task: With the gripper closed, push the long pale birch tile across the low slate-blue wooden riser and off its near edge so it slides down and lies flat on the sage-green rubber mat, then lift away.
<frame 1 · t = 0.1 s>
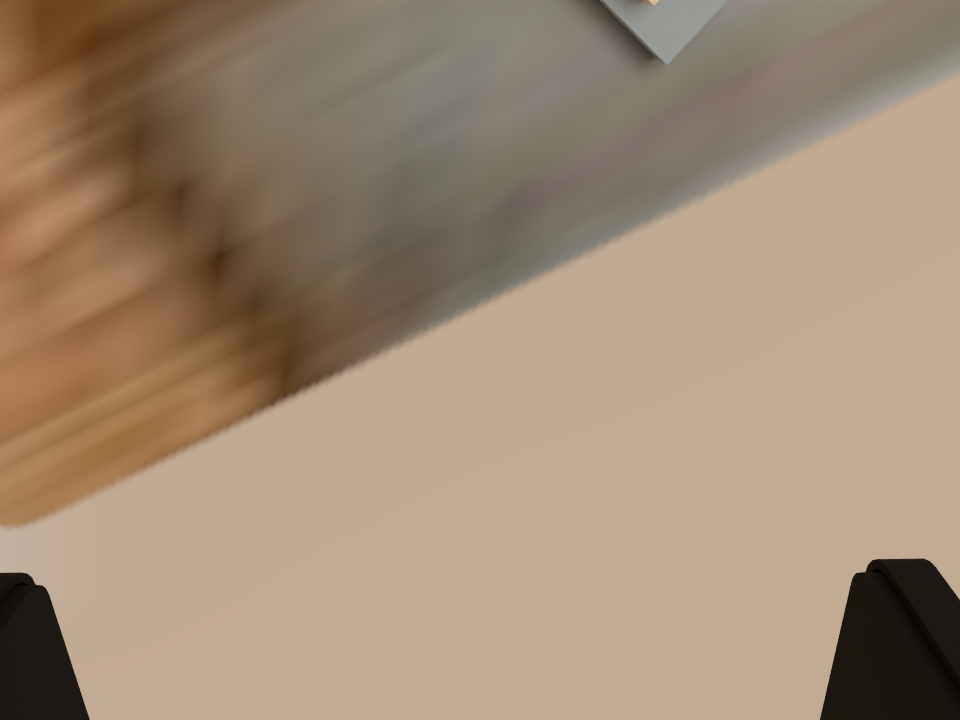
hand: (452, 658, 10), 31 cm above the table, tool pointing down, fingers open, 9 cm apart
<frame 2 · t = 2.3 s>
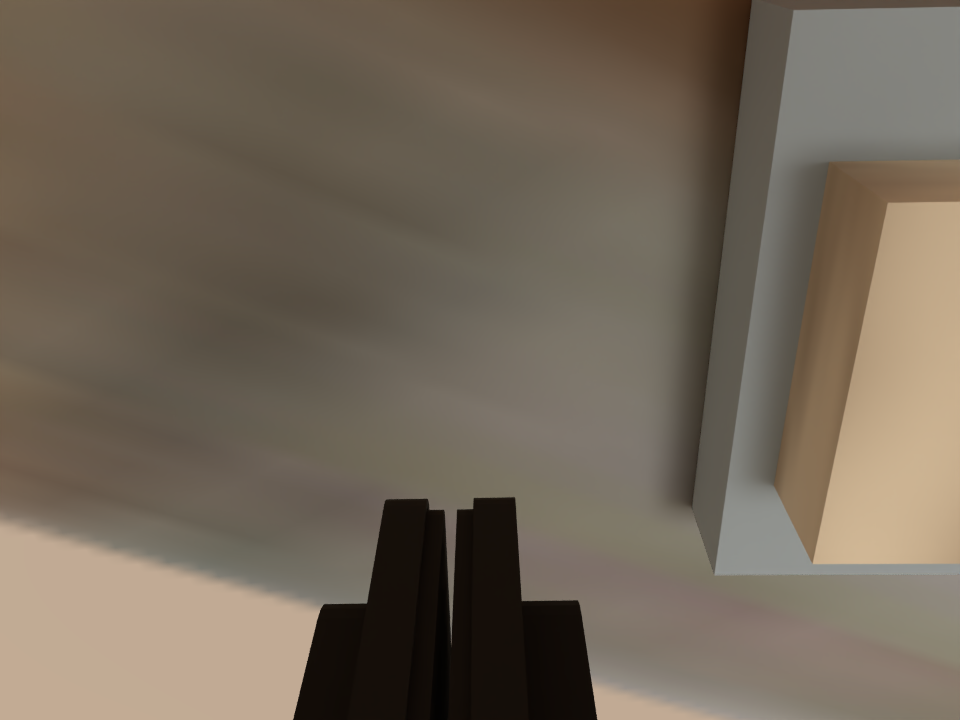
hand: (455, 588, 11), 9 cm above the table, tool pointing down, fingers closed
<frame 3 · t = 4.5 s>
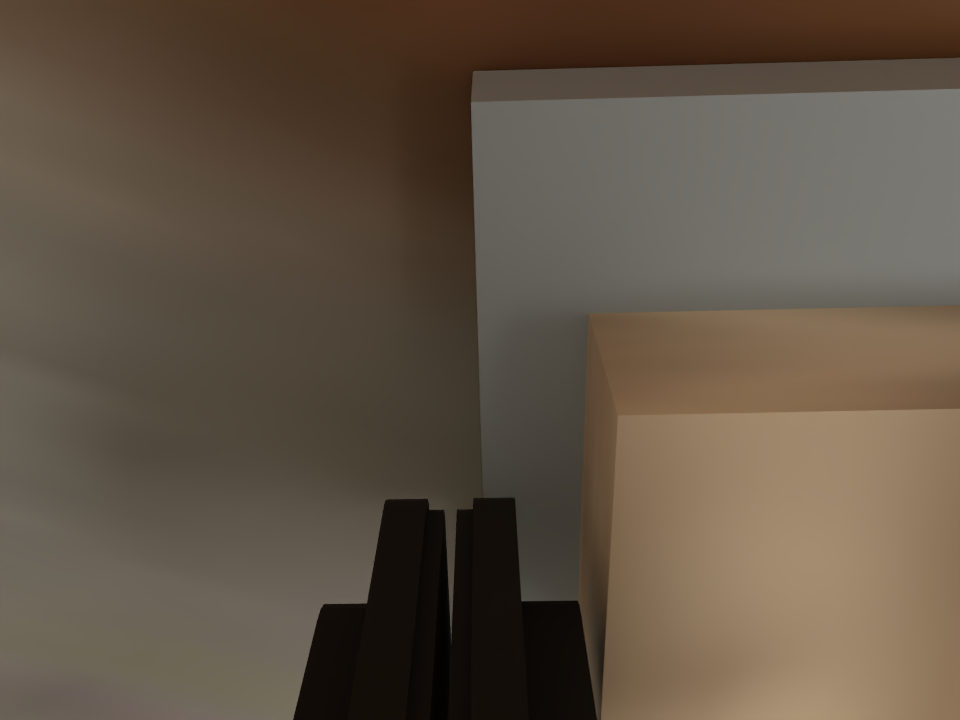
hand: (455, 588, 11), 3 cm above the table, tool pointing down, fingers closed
riser: (902, 436, 14), on the table
birch tile: (936, 534, 12), point 3 cm above the table, touching gripper, riser
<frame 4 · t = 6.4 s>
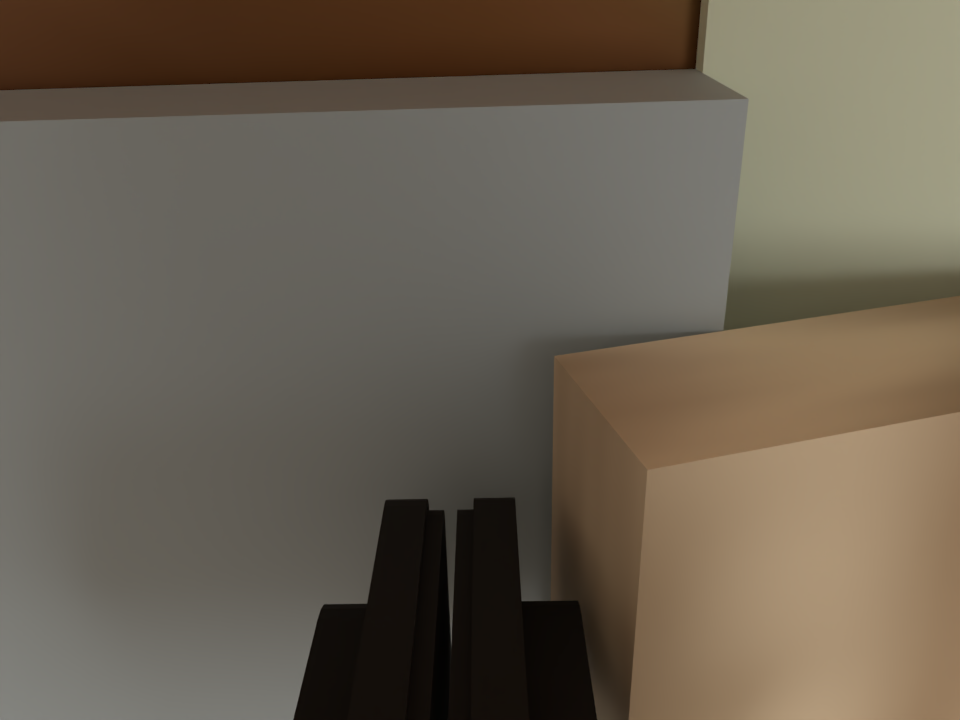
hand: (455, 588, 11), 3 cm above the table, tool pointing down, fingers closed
riser: (249, 454, 14), on the table
birch tile: (866, 518, 12), point 2 cm above the table, tilted 15°, touching riser
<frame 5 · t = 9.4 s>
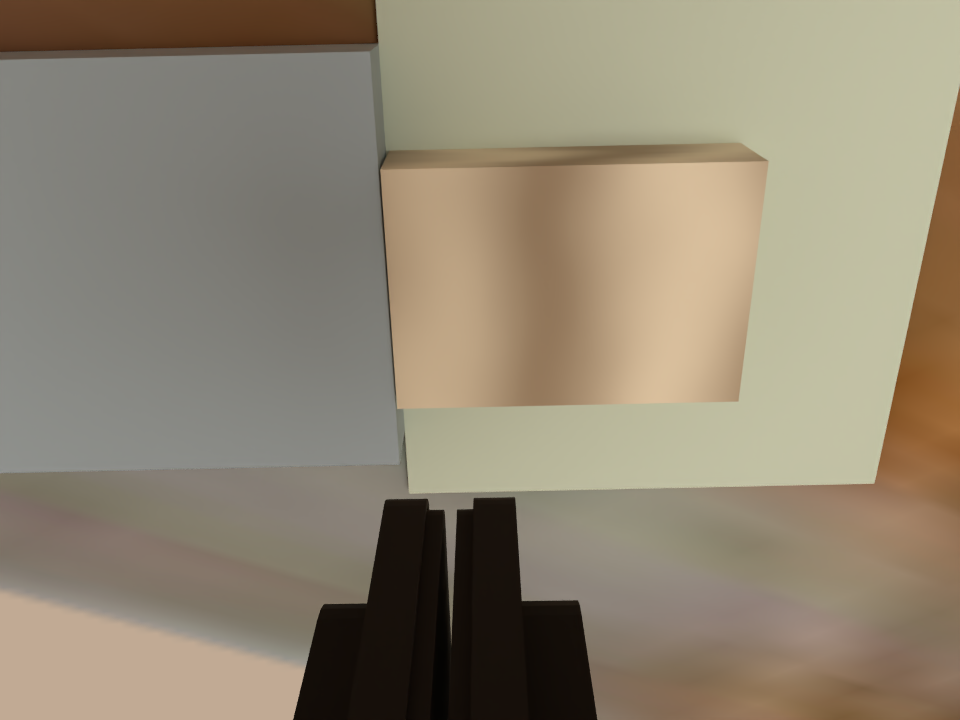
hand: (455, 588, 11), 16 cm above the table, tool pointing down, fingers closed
riser: (164, 258, 25), on the table
birch tile: (562, 263, 25), resting on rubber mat
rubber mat: (656, 247, 25), on the table
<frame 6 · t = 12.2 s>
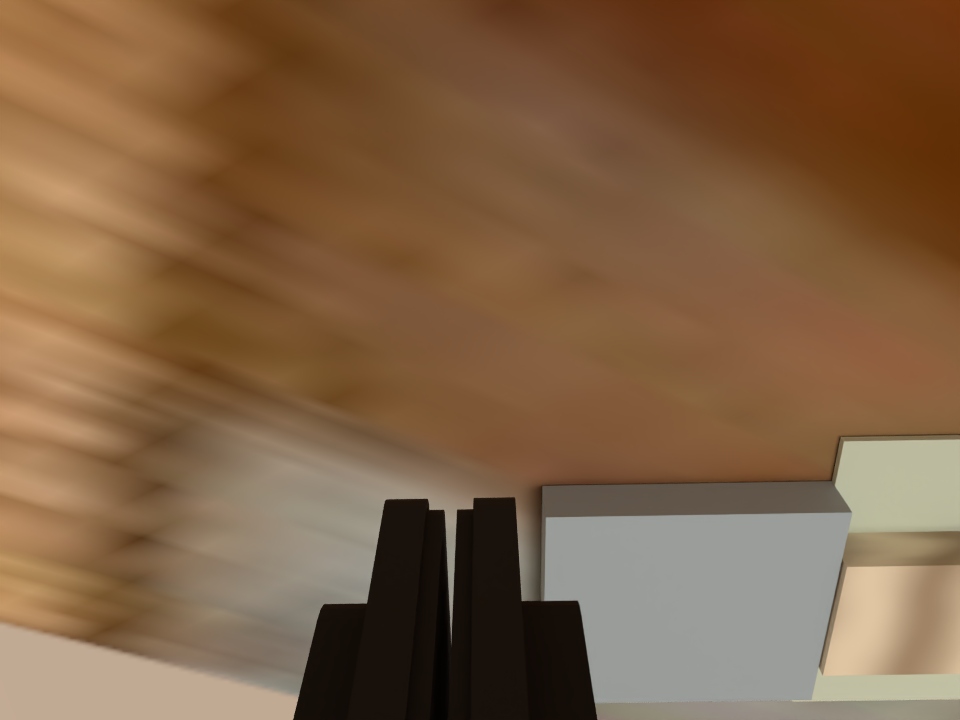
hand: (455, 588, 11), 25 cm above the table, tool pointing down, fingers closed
riser: (676, 579, 43), on the table
birch tile: (913, 586, 43), resting on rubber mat
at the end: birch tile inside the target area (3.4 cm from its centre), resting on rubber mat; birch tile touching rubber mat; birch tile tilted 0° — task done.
